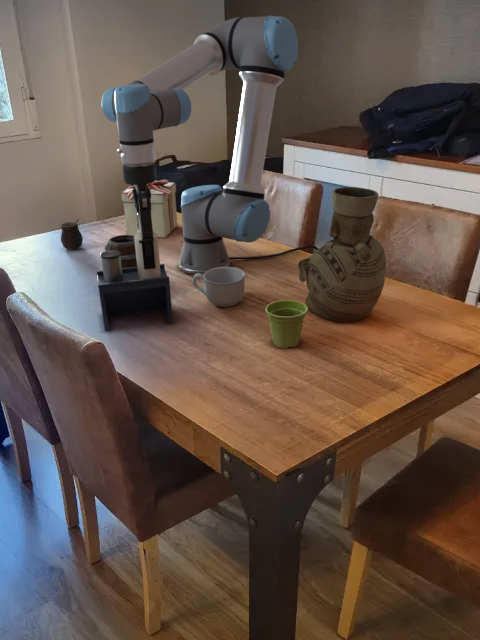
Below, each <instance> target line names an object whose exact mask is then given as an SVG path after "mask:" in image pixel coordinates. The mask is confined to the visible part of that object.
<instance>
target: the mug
mask: <svg viewBox="0 0 480 640" xmlns="http://www.w3.org/2000/svg"><path fill="white" fill-rule="evenodd" d="M111 250H115V251H119V252H120V253H121V264H122V268H130V267H137V260H136V251H135V242H134V236H133V235H127V234H119V235H115V236H112V237H110V238H108V241H107V242H106V244H105V246H104V252H105V251H111Z"/></svg>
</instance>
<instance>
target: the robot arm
mask: <svg viewBox="0 0 480 640" xmlns="http://www.w3.org/2000/svg"><path fill="white" fill-rule="evenodd" d="M298 55H299V39H298V35H297V32H296V28H295V26H294V24H293V22H291V20H289V19H288V18H287V17H285V16H279V15H278V16H276V15H271V14H270V15H264V16H237V17H233V18H230V19H227V20H224V21H223V22H221V23H218V24H217V25H215V26H213V27H212V28H210V29H208V30H206V31H205V32H203V33H202V34H199V35H198V36H197V37H196V39H195V40H194V42H193V44H192V45H190V46H189V47H186V48H185V49H184V50H182V51H180V52H179V53H178V54H176V55H173V56H172V57H171V58H169V59H168V60H166V61H163V62H162V63H161V64H159V65H158V66H155V68H153V69H151V70H149V71H147V73H145V74H143V75H142V76H140V77H138V78H137V79H135V80H133V81H132V82H129V83H128V84H123V85H119V86H115V87H109V88H108V89H106V90H105V92H104V93H103V94H102V98H101V109H102V112H103V115H104V117H105V118H106V119H107V120H108V121H110V122H112V123H116V124H117V125H116V126H117V132H118V142H119V147H120V148H117V153H118V154H120V157H121V163H122V164H123V165H122V166H121V170H122V178H123V182H124V183H125V184H126V183H127V184H126V185H128V184H130V186H131V185H133V184H135V186H134V188H133V190H132V194H133V198H134V204H135V208H136V213H137V223H138V224H137V227H138V228H139V219H138V213H139V218H140V227H141V235H142V240H141V241H139V243H142V253H143V262H144V270H145V269H154V268H156V267H155V256H154V245H153V242H154V238H153V229H152V218H151V200H150V199H151V191H150V190H149V188H147V184H148V183H153V182H154V181H157V180H158V179H157V177H158V176H157V165H156V163H155V161H156V151H155V141H154V131H157V130H162V129H167V128H173V127H175V128H176V127H178V126H180V125H183V124H186V122H188V120H189V119H190V117H191V115H192V102H191V98H190V96H189V94H188V93H187V92H186V91H185V89H188V88H189V87H190V86H193V85H194V84H196V83H197V82H198V81H200V80H201V79H203V78H204V77H206V76H215V75H217V74H218V73H220V72H223V71H227V70H239V71H238V76H239V77H240V79H241V80H242V82H243V83H242V84H243V85H242V92H241V98H240V105H239V111H238V112H239V113H238V119H237V120H238V121H237V126H236V134H235V140H234V148H233V154H232V160H231V168H230V175H229V180H228V182H226V183H225V184H224V185H223V186H221V185H219V184H205V185H204V184H203V185H198V186H193V187H189V188H187V189H185V190H184V191H182V193H181V195H180V211H181V212H180V213H181V223H182V224H181V225H182V235H183V237H182V238H183V243H182V248H181V251H180V255H179V258H178V267H179V268H178V269H179V270H180V271H181V272H183V273H184V274H189V275H193V276H194V275H195V274H198V273H200V274H203V275H204V274H205V273H206V272H207V271H208V270H210V269H213V268H217V267H231V266H230V261H237V260H239V261H240V260H241V261H242V260H243V261H245V260H259V259H268V258H276V257H281V256H284V255H287V254H291V253H292V252H296V251H297V252H298V251H302V250H305V249H310V248H311V249H314V250H315V251H316V250H318V249H319V247H318V246H316V245H313V244H308V245H303V246H299V247H294V248H291V249H288V250H286V251H282V252H278V253H274V254H266V255H258V256H229V254H228V252H227V248H226V245H225V242H224V239H228V240H232V241H235V242H240V243H254V242H256V241H258V240H259V239H260V238H261V237H262V236H263V235H264V234H265V232H266V230H267V228H268V227H269V223H270V220H271V209H270V203H269V202H268V201H266V200H265V194H266V192H265V191H264V189H263V187H262V179H263V173H264V168H265V162H266V156H267V155H266V154H267V148H268V142H269V137H270V130H271V123H272V117H273V111H274V105H275V100H276V99H275V98H276V94H277V93H276V92H277V88H278V87H279V86H280V85H281V84H282V83H283V82H284V80H285V74H286V72H289V71H291V70H292V69H293V68H294V65H295V64H296V62H297V60H298V59H297V58H298ZM138 230H139V229H138Z"/></svg>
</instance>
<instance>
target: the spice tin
mask: <svg viewBox="0 0 480 640" xmlns="http://www.w3.org/2000/svg"><path fill="white" fill-rule="evenodd" d="M99 255H100V259H101V265H102V270H103V274H104V281H105V282H106V283H113V282H121V281H123V272H122V264H121V253H120V252H119V251H115V250H111V251H105V250H104V251H103V252H100V254H99Z"/></svg>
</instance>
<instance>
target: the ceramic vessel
mask: <svg viewBox="0 0 480 640" xmlns="http://www.w3.org/2000/svg"><path fill="white" fill-rule="evenodd" d="M378 199H379V192H378V191H376V190H374V189H369V188H364V187H357V186H344V187H337V188H334V189H333V190H332V192H331V206H332V210H333V214H332V218H331V222H330V230H329V231H328V233H327V234H328V236H329V237H330V238H333V239H330V240H327V241H326V242H325V243H324V244H323V245H322V246H320V247H318V250H316V249H315V251H314V252H313V253H312V255H310V256H308V257H307V258H303V259H301V260H299V261H298V262H297V267H298V269H299V277H298V280H299V281H300V282H301V283H306V288H307V290H308V294H307V296H306V298H305V302H304V304H305V305H306V306H307V307H308V311H309V312H310V313H312V314H313V315H315V316H316V317H319V318H321V319H323V320H325V321H329V322H333V323H337V324H352V323H357V322H360V321H363V320H364V319H366V318H367V317H368V316H369V315H370V314H371V313H372V311H373V310H374V308H375V307H376V305H377V303H378V301H379V299H380V297H381V296H382V295H381V294H382V293H383V289H384V286H385V280H386V275H387V274H386V273H387V262H386V260H387V259H386V253H385V249H384V247H383V245H382V243H380V241H379V240H378V239H376V238H375V237H374V236H373V235H371V230H372V227H373V224H374V221H375V218H374V217H375V216H374V214H373V213H374V211H375V210H376V206H377V203H378Z"/></svg>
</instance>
